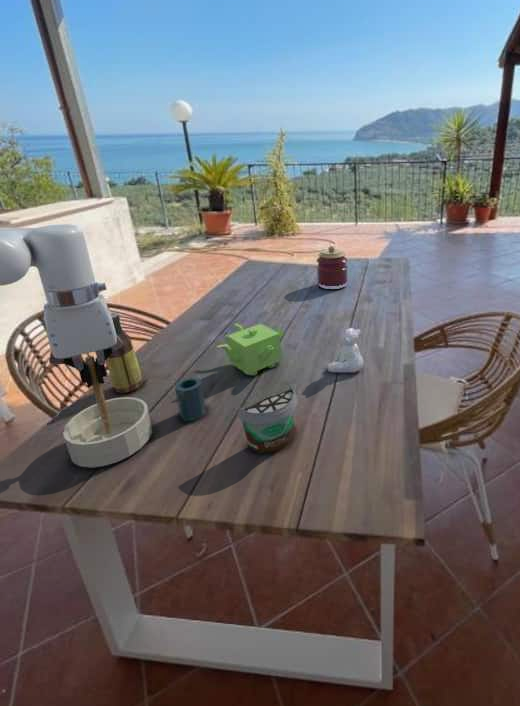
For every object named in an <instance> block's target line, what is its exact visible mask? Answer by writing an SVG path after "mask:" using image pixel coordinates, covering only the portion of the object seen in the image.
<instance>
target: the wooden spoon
mask: <svg viewBox="0 0 520 706" xmlns="http://www.w3.org/2000/svg"><path fill="white" fill-rule="evenodd" d="M84 361H85V362H86V364H87V367H88V371H89V375H90V378H91V382H92V386H91V388H92V391H93V394H94V397H95V401H96V404H97V405H98V409H99V413H100V417H101V420H103V422H104V426H105V430H106V434H110V433H111V428H110V424H109V420H108V418H109V414H108V410H107V406H106V402H105V401H106V398H105V394H104V390H103V387H102V384H100V382H99V378H98V375H97V371H96V366H95V365H96V363H95V361H96V360H95V356H93V355H88V356H86V357H85V358H84Z"/></svg>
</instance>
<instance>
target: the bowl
mask: <svg viewBox="0 0 520 706" xmlns="http://www.w3.org/2000/svg"><path fill="white" fill-rule="evenodd" d="M105 402H106V406H107V410H108V414H109V418H108V420H109V424H110V428H111V433H110V434H106V430H105V426H104V422H103V420H101V417H100V413H99V409H98V405H97V403H94V404H92V405H90V406H88V407H86V408H85V409H82V410H81V411H79V412H78V413H76V414H75V415H74V416H73V417H71V418H70V420H69V421H68V422H67V423H66V424H65V425H64V429H63V432H62V435H63V439H64V442H65V446H66V448H67V451H68V454H69V458H70V460H71V462H72V463H73V464H75V465H76V466H78V467H81V468H88V469H89V468H90V469H93V468H100V467H105V466H109V465H113V464H115V463H118V462H120V461H123V460H124V459H126V458H128V457H130V456H132V455H134V454H135V453H136V452H138V451H139V450H140V449H142V448H143V446H145V444H147V443H148V441H149V440H150V438H151V436H152V434H153V425H152V421H151V415H150V412H149V411H150V410H149V406H148V404H147V403H146V402H145V400H143V399H141V398H138V397H131V396H122V397H115V398H110V399H105Z"/></svg>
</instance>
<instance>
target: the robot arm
mask: <svg viewBox="0 0 520 706" xmlns="http://www.w3.org/2000/svg"><path fill="white" fill-rule="evenodd" d="M31 267H35V268H36V269H37V271H38V275H39V278H40V282H41V285H42V289H43V292H44V296H45V299H46V303H44V305H43V318H44V325H45V331H46V335H47V340H48V344H49V348H50V353H49V359H48V363H49V364H50V365H65V366H69V367H71V368H74V369H75V370H76V371H78V373H79V376H80V380H81V384H84V383H86V386H87V388H88V389H90V388H92V382H91V378H90V375H89V371H88V367H87V364H86V361H85V360H83V355H86V354H90V353H95V355H96V357H95V358H94V360H95V363H96V365H95V366H96V371H97V375H98V378H99V382H100V384H101V385H103V384H105V380H104V378H106V377H108V374H107V370H106V365H105V364H106V360H107V358H108V357H109V356H110V355H111V353H112V352H114V351H116V350H118V349H120V348H122V347H123V342H122V341H121V339H120V338H119V337H118V335H117V334H116V331H115V327H114V323H113V320H112V316H111V313H112V312H111V310H110V307H109V305H108V302H107V300H106V298H105V296H104V295H103V294H102V292H104V291H107V285H106V282H102V283H101V282H100V283H99V282H97V281H96V279H95V275H94V271H93V266H92V263H91V259H90V253H89V250H88V245H87V241H86V237H85V234H84V232H83V230H82V228H81V227H79V226H77V225H74V224H51V225H44V226H39V227H0V287H2V286H3V287H4V286H8V285H12V284H14V283H16V282H18V281H20V280H21V279H23V278H24V277H26V275H27V274H28V272H29V271H30V268H31ZM100 293H101V294H100Z"/></svg>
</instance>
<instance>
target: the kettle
mask: <svg viewBox="0 0 520 706" xmlns="http://www.w3.org/2000/svg"><path fill="white" fill-rule="evenodd" d="M234 326H235V328H236V330H237V331H236V332H233V333H231V334H228V335H226V340H227V343H222V344H219V345H217V346H216V348H219V349H223V350H224V351H225V353H226V355H227V357H228V358H229V363H230V364H232V365H233V366H234V367H236V368H237V369H238V370H240V371H241V372H243V373H244V374H245V375H247V376H251V377H252V376H256V375H258V371H260V370H262V369H265V368H269V369H271V368H275V366H276V363H278V362H280V361H282V360H283V355H282V343H281V339H282V337H283V336H284V335H285V334H286V332H285V331H284V330H283V329H281V328H278V329H277V330H274V329H272V328H271V327H269V326H267V325H264V324H263V323H259V324H256V325H253V326H251V327H248V328H247V327H246V328H245V329H244V328H243V326H242V324H240V323H239V322H236V323H234Z"/></svg>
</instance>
